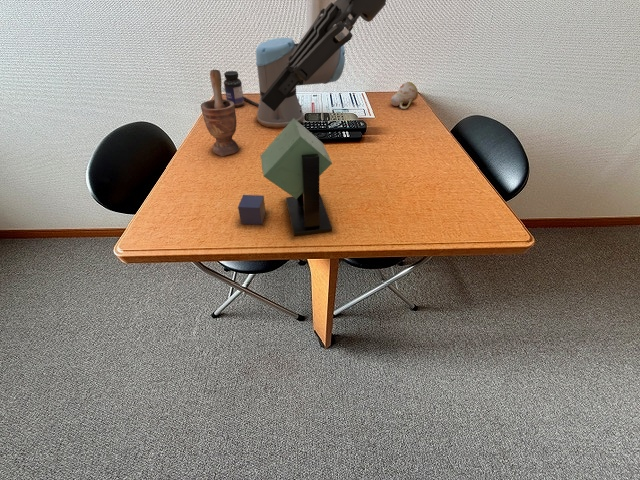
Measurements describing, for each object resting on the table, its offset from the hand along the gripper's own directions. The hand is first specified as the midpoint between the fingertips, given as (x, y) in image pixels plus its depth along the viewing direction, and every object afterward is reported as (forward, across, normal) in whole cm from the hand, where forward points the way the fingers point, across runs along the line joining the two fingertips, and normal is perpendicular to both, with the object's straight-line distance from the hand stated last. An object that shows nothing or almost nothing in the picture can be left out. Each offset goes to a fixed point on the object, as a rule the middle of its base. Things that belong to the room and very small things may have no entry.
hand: (267, 104), depth 58 cm
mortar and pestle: (+26, +37, -9) cm, 46 cm away
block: (+21, +1, -14) cm, 25 cm away
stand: (+13, 0, -22) cm, 25 cm away
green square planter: (0, 0, -10) cm, 10 cm away
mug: (-19, +59, -54) cm, 83 cm away
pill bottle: (+24, +72, -12) cm, 76 cm away
